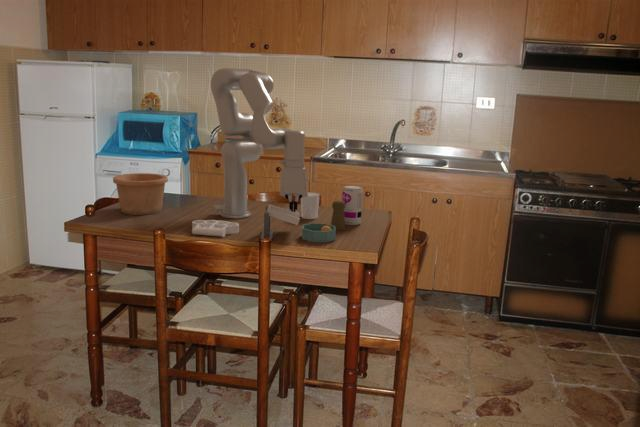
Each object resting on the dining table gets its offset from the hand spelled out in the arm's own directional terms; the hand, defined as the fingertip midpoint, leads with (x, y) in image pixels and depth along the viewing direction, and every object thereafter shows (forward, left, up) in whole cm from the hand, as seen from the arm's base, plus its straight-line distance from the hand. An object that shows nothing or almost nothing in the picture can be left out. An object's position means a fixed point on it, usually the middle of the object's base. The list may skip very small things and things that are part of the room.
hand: (293, 211), depth 224 cm
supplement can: (+24, +14, -8) cm, 28 cm away
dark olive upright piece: (+18, +5, -8) cm, 20 cm away
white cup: (+7, +22, -8) cm, 24 cm away
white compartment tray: (-29, -5, -8) cm, 31 cm away
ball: (+12, -10, -5) cm, 17 cm away
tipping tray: (-4, -5, 0) cm, 7 cm away
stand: (-9, -10, -7) cm, 16 cm away
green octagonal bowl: (+10, -10, -7) cm, 16 cm away
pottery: (-64, +26, -8) cm, 70 cm away
